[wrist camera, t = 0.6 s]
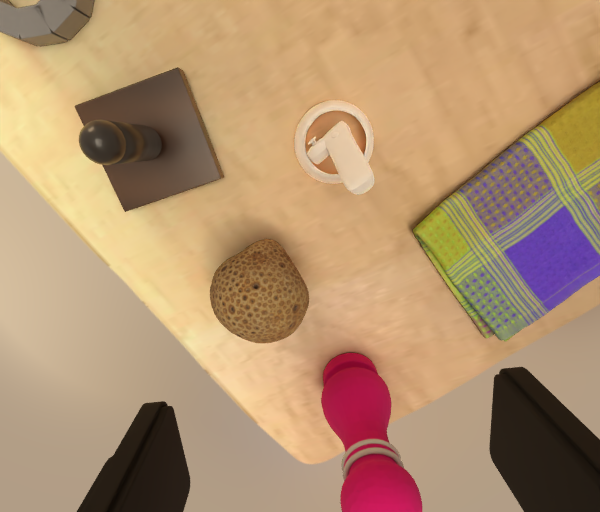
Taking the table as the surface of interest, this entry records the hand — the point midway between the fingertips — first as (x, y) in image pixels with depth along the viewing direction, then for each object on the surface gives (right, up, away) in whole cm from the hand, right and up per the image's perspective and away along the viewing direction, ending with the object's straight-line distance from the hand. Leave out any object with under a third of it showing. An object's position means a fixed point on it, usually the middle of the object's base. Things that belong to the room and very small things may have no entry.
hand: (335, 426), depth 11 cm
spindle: (-15, +16, +24) cm, 32 cm away
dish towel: (+24, +9, +27) cm, 38 cm away
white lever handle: (+2, +16, +25) cm, 30 cm away
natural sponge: (-5, +3, +29) cm, 29 cm away
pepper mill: (+5, -9, +32) cm, 34 cm away
